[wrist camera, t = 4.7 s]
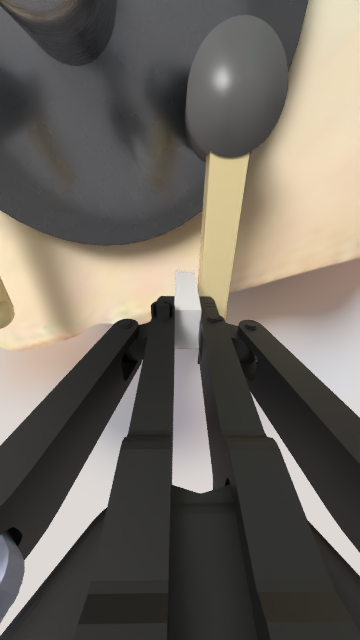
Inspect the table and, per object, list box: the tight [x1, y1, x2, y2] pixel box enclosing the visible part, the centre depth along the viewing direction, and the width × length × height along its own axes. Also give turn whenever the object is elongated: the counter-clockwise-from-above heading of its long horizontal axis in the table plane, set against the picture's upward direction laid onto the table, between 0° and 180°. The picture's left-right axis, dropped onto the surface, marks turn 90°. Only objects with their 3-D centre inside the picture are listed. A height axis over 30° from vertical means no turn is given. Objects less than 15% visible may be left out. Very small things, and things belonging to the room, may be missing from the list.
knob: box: [185, 15, 288, 322], centre depth 16 cm, size 18×5×5 cm, turn 179°
